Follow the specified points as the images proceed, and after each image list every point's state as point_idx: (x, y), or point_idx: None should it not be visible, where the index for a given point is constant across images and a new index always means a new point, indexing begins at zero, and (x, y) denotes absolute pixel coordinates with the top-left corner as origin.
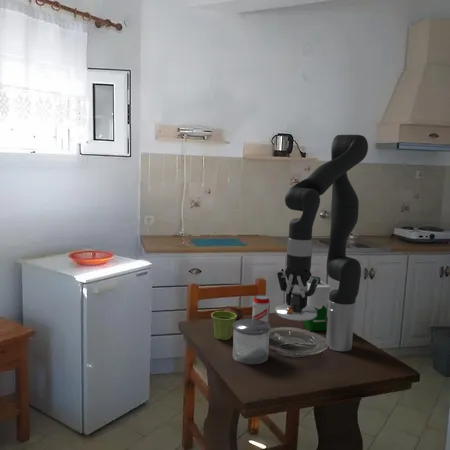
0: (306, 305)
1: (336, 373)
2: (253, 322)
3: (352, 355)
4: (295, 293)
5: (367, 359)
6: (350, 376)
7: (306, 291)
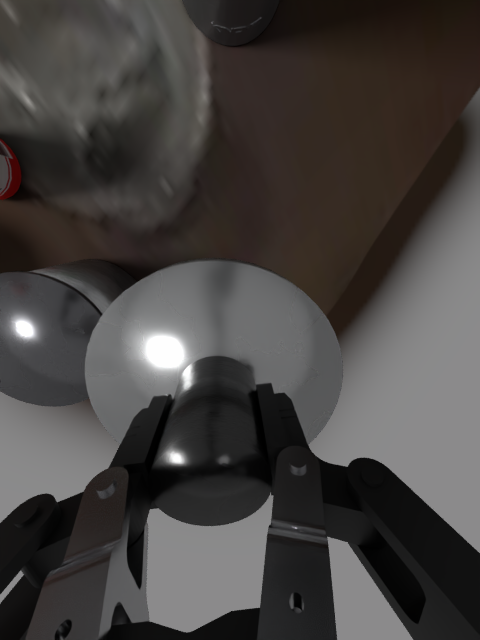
0: (289, 402)
1: (317, 224)
2: (9, 316)
3: (307, 32)
4: (182, 476)
5: (363, 24)
6: (354, 212)
7: (309, 504)
